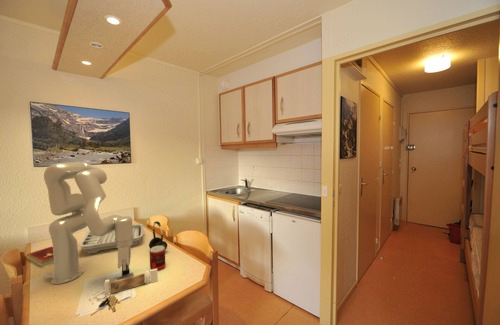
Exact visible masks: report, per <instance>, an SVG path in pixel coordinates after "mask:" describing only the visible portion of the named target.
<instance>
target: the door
mask: <svg viewBox="0 0 500 325" xmlns="http://www.w3.org/2000/svg"><path fill="white" fill-rule="evenodd" d="M143 285H146V279H145V272H144V273H140V274H136V275H134V276H132V277H128V278H124V279H120V280H117V279H116V280H114V281H110V294H114V292H115V293H118V292H120V291H121V292H122V291H125V290H128V289H132V288H135V287H140V286H143Z"/></svg>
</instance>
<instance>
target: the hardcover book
mask: <svg viewBox="0 0 500 325" xmlns="http://www.w3.org/2000/svg"><path fill="white" fill-rule="evenodd" d="M26 255H27V260H29V261H30V262H32V263H34V264H35V265H37V266H39V267H41V268H45V267H48V266H50V265H54V255H53V246H48V247H46V248H42V249H39V250H36V251H32V252H29V253H27V254H26Z"/></svg>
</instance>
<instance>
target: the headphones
mask: <svg viewBox="0 0 500 325" xmlns="http://www.w3.org/2000/svg"><path fill="white" fill-rule="evenodd" d="M156 224H157V226H158V227H159V229H160V233H161V234H160V237H159V236H157V235H156V230H155V225H156ZM163 233H164V232H163V229H162V226H161V223H160V221H154V223H153V226H152V235H153V238H152V239H151V240H150V241H149V243H148V246H149V250H150V249H151V248H152V247H155V246H164V247H165V251H166V250H167V249H168V244H167V241H165V240H164V237H163V236H164V234H163Z"/></svg>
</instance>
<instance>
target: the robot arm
mask: <svg viewBox="0 0 500 325" xmlns="http://www.w3.org/2000/svg"><path fill="white" fill-rule="evenodd" d="M70 179H73V180H74V181H75V183H76V186H77V187H78V189H79V191H80V193H78V192H77V193H71V192H72V191H71V186H70V185H69V183H68V182H67V181H66V180H70ZM107 179H108V177H107V173H106V172H105V171H104V170H103V169H101V168H99V167H97V166H94V165H92V164H89V163H86V162H84V161H72V162H59V163H58V162H57V163H53V164H50V165H49V166H48V167H46V169H45V170H44V173H43V181H44V183H45V185H46V188H47V191H48V192H47V194H48V200H49V201H48V202H49V207H50V211H51V213H52V215H53V216H63V217H59V218H57V219H55V220H53V221H52V222H51V223H50V224H49V225H48V232H49V235H50V238H51V243H52V247H53V255H54V263H53V267H54V268H53V269H54V270H53V271H49V272H44V274H43V277H44V279H46V280H47V279H50V278H51V279H50V283H51V284H53V285H61V284H65V283H69V282H71V281H74V280H76V279H78V278H80V277H81V276H82V275H83V273H84V271H83V269H82V268H80V265H79V250H78V249H79V248H78V247H79V246H78V240H77V238H76V237H75V236H74V235H73V234H74V233H76V232H79V231H81V230H84V229H85V228H87V227H88V230H89V231H91V233H92V234H93V235H95V236H103V235H106V234H108V233H110V232H112V231H114V230H115V242H116V248H117V269H121V276H123V275H126V274H130V273H131V272H130V265H131V264H130V263H131V257H132V256H131V255H132V254H131V252H132V251H131V247H132V246H131V245H132V244H133V229H132V225H133V219H132V217H131V216H125V215H124V216H121V215H116V214H112V215H109V216H107V217H104V218H101V217H100V214H99V207H100V204H101V203H102V202H103V201H104V200H105V198H106V197H107V194H106V193H105V191H104V189H103V187H102V185H103V184H105V183H106V181H107ZM70 213H71V214H70ZM67 214H70V215H67ZM64 215H66V216H64Z"/></svg>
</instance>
